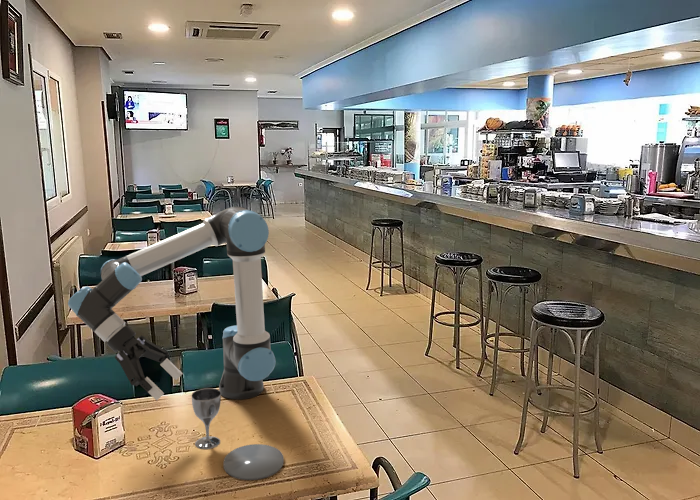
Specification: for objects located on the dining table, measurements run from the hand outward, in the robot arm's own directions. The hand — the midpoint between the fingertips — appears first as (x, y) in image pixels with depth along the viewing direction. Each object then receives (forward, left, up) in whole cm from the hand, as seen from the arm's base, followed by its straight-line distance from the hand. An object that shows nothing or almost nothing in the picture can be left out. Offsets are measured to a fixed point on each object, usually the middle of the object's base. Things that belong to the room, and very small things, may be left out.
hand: (170, 386), depth 164 cm
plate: (+4, +27, -17) cm, 32 cm away
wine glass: (-2, +10, -17) cm, 20 cm away
